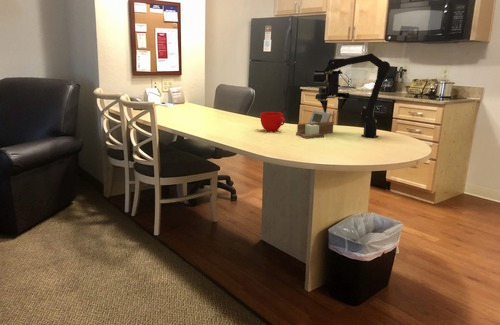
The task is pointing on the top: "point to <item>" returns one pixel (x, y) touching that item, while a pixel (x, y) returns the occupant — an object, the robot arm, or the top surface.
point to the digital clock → (319, 116)
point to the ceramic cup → (271, 121)
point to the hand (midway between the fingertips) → (332, 112)
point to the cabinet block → (311, 129)
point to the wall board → (323, 128)
